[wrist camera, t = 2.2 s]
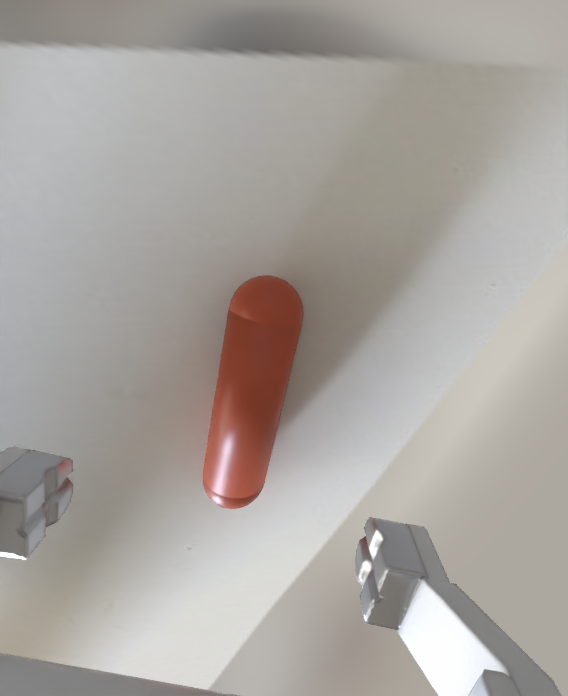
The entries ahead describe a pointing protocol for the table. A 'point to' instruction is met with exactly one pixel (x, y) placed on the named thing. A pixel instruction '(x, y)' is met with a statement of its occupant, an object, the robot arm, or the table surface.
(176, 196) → the table surface
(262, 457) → the orange round-ended cylinder
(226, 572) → the table surface
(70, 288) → the table surface
